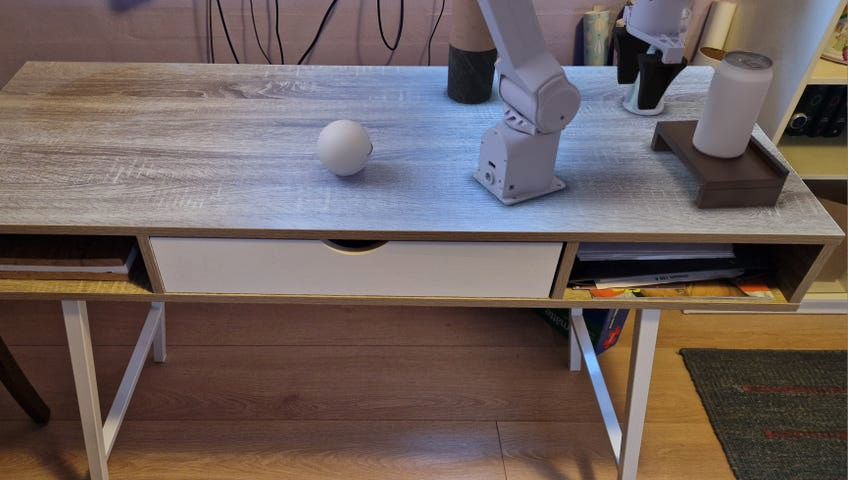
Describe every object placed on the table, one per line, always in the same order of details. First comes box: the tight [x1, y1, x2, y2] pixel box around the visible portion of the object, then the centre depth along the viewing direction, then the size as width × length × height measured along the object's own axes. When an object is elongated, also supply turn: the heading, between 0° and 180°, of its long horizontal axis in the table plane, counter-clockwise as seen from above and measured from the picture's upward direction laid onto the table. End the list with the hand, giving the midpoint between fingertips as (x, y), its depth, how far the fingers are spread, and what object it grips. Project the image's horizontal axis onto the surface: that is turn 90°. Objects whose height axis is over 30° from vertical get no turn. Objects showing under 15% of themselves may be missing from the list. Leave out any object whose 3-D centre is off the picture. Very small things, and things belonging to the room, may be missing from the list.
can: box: [693, 49, 775, 159], centre depth 88 cm, size 6×6×12 cm
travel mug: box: [446, 0, 499, 105], centre depth 108 cm, size 8×8×20 cm
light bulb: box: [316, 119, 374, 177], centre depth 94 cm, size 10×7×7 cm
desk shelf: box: [650, 119, 791, 210], centre depth 93 cm, size 10×16×5 cm, turn 4°
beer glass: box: [622, 6, 693, 116], centre depth 106 cm, size 7×7×15 cm
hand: (635, 95), depth 92 cm, fingers open, 7 cm apart
